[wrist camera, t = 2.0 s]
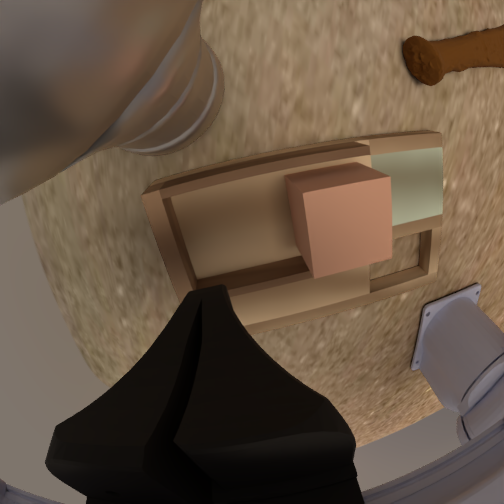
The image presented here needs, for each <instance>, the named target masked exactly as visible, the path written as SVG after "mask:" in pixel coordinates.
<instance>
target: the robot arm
mask: <svg viewBox="0 0 504 504" xmlns="http://www.w3.org/2000/svg"><path fill="white" fill-rule="evenodd" d="M480 290H481V285H480V284H479V283H478V284H475V285H473V286H471V287H468V288H466V289H464V290H461V291H459V292H457V293H454V294H452V295H449V296H447V297H445V298H442V299H440V300H437V301H435V302H432V303H429V304H427V305H426V306H425V307H424V308H423V313H422V318H421V324H420V329H419V334H418V338H417V343H416V348H415V352H414V356H413V360H412V364H411V369H412V370H417V369H420V370H421V372H422V373H423V375H424V376H425V378H426V380H427V381H428V383H429V384H430V386H431V388H432V389H433V391H434V392H435V394H436V396H437V397H438V399H439V401H440V402H441V403H442V405H443V406H444V407H446V408H447V409H449V410H451V411H454V412H460V415H459V417H458V418H457V435H458V438H459V441H460V443H461V445H462V446H460V447H458V448H457V449H455V450H453V451H452V452H450V453H448V454H446V455H445V456H443V457H441V458H439V459H437V460H435V461H434V462H431V463H429V464H427V465H425V466H423V467H421V468H419V469H417V470H415V471H413V472H411V473H409V474H406V475H404V476H402V477H400V478H397V479H395V480H392V481H390V482H387V483H385V484H382V485H380V486H377V487H375V488H372V489H369V490H366V491H363V492H361V490H360V487H359V484H358V481H357V478H356V477H357V472H356V468H355V466H354V463H353V458H354V452H355V448H356V441H355V437H354V435H353V433H352V431H351V429H350V428H349V426H348V424H347V423H346V421H345V420H344V419H343V417H342V416H341V415H340V413H339V412H338V411H337V410H336V408H335V407H334V406H333V405H332V403H331V402H330V401H329V400H328V399H327V398H326V397H324V396H323V395H321V394H319V393H318V392H316V391H314V390H313V389H311V388H309V387H308V386H306V385H305V384H303V383H302V382H300V381H299V380H298V379H296V378H295V377H294V376H292V375H291V374H289V373H288V372H287V371H286V370H285V369H284V368H282V367H281V366H280V365H279V364H278V363H277V362H275V361H274V360H273V359H272V358H271V357H270V356H269V355H268V354H267V353H266V352H265V351H264V350H263V349H262V348H261V347H260V346H259V345H258V344H257V343H256V341H255V340H254V339H253V338H252V337H251V335H250V334H249V333H248V331H247V330H246V329H245V327H244V326H243V325H242V323H241V322H240V320H239V318H238V317H237V315H236V313H235V312H234V310H233V306H232V303H231V300H230V297H229V293H228V290H227V287H226V286H225V285H223V284H220V285H215V286H211V287H207V288H202V289H198V290H193V291H189V292H188V293H187V295H186V296H185V298H184V299H183V301H182V302H181V304H180V305H179V307H178V309H177V310H176V312H175V313H174V315H173V316H172V318H171V319H170V321H169V322H168V324H167V325H166V327H165V328H164V330H163V331H162V332H161V334H160V335H159V336H158V338H157V339H156V340H155V342H154V343H153V344H152V346H151V347H150V348H149V349H148V351H147V352H146V353H145V354H144V355H143V357H142V358H141V359H140V360H139V361H138V362H137V363H136V364H135V365H134V366H133V367H132V369H131V370H130V371H129V372H127V373H126V374H125V375H124V376H123V377H122V378H121V379H120V380H119V381H118V382H117V383H116V384H115V385H114V386H112V387H111V388H110V389H109V390H108V391H107V392H106V393H104V394H103V395H102V396H100V397H99V398H98V399H97V400H95V401H94V402H93V403H91V404H90V405H88V406H87V407H86V408H84V409H83V410H81V411H80V412H78V413H76V414H75V415H74V416H72V417H70V418H68V419H67V420H65V421H64V422H62V423H60V424H58V425H57V426H56V427H55V430H54V433H53V436H52V440H51V443H50V446H49V450H48V453H47V457H46V460H45V464H46V467H47V468H48V470H49V471H50V472H51V473H52V474H53V475H54V476H55V477H57V478H58V479H59V480H61V481H62V482H64V483H65V484H67V485H68V486H70V487H72V488H73V489H75V490H77V491H79V492H80V493H82V494H83V495H85V496H87V500H86V504H504V333H503V332H502V331H501V330H500V329H499V327H498V326H497V325H496V324H495V323H494V322H493V321H492V320H491V319H490V318H489V317H488V316H487V315H486V314H485V313H484V312H483V311H482V310H481V309H480V308H479V307H478V306H477V302H478V298H479V294H480ZM0 504H63V503H60V502H56V501H52V500H49V499H46V498H43V497H40V496H37V495H34V494H31V493H28V492H26V491H23V490H20V489H18V488H15V487H13V486H10V485H8V484H6V483H5V482H4V481H3V480H1V479H0Z"/></svg>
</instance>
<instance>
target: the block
mask: <svg viewBox="0 0 504 504" xmlns="http://www.w3.org/2000/svg"><path fill="white" fill-rule="evenodd" d="M284 177H285V182H286V188H287V194H288V199H289V205H290V211H291V217H292V223H293V229H294V235H295V241H296V246H297V248H298V250H299V252H300V254H301V255H302V257H303V259H304V261H305V263H306V265H307V266H308V268H309V270H310V272H311V274H312V276H313V278H314V279H316V278H320V277H324V276H328V275H332V274H335V273H339V272H343V271H347V270H351V269H354V268H358V267H362V266H365V265H369V264H373V263H376V262H380V261H383V260H387V259H391V258H392V195H391V176H388V175H386V174H384V173H382V172H379V171H377V170H375V169H372V168H370V167H368V166H365V165H363V164H361V163H358V162H352V163H346V164H340V165H334V166H329V167H323V168H318V169H312V170H307V171H302V172H297V173H292V174H287V175H284Z"/></svg>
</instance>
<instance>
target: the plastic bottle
mask: <svg viewBox="0 0 504 504" xmlns="http://www.w3.org/2000/svg"><path fill="white" fill-rule="evenodd" d="M202 2H203V0H0V206H1V205H3V204H5V203H6V202H8V201H10V200H12V199H14V198H16V197H18V196H20V195H22V194H24V193H26V192H28V191H29V190H31V189H33V188H35V187H36V186H38V185H40V184H42V183H44V182H45V181H47V180H49V179H51V178H53V177H55V176H56V175H57V174H58V173H60V172H62V171H64V170H66V169H67V168H69V167H71V166H73V165H74V164H76V163H78V162H80V161H81V160H83V159H85V158H87V157H89V156H91V155H93V154H95V153H96V152H98V151H101V150H105V149H109V148H113V147H119V148H121V149H123V150H126V151H129V152H133V153H137V154H140V155H147V156H158V155H166V154H170V153H173V152H175V151H179V150H181V149H183V148H184V147H186V146H188V145H190V144H191V143H193V142H194V141H195V140H196V139H198V138H199V137H200V136H201V135H202V134H203V133H204V132H205V131H206V130H207V129H208V128H209V126H210V125H211V124H212V122H213V120H214V119H215V117H216V115H217V114H218V111H219V109H220V106H221V104H222V100H223V94H224V74H223V70H222V66H221V64H220V62H219V60H218V58H217V56H216V54H215V53H214V51H213V50H212V48H211V47H210V46H209V45H208V44H207V43H206V41H205V40H204V39H202V37H201V34H200V21H199V20H200V14H201V8H202Z"/></svg>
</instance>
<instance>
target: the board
mask: <svg viewBox="0 0 504 504" xmlns="http://www.w3.org/2000/svg"><path fill="white" fill-rule="evenodd" d="M352 162H358V163H361V164H363V165H365V166H368V167H370V168H372V169H375V170H377V171H379V172H382V173H384V174H386V175H388V176H391V195H392V239H396V238H400V237H404V236H408V235H411V234H415V233H419V232H421V241H420V256H419V266H416V267H413V268H410V269H407V270H403V271H400V272H397V273H393V274H390V275H387V276H383V277H380V278H377V279H373V280H370V264H369V265H365V266H362V267H358V268H354V269H351V270H347V271H343V272H339V273H335V274H332V275H328V276H324V277H320V278H316V279H314V278H313V276H312V274H311V272H310V270H309V268H308V266H307V265H306V263H305V261H304V259H303V257H302V255H301V254H300V252H299V250H298V248H297V246H296V241H295V235H294V229H293V223H292V217H291V211H290V205H289V199H288V194H287V188H286V182H285V177H284V175H287V174H292V173H297V172H302V171H307V170H312V169H318V168H323V167H329V166H334V165H340V164H346V163H352ZM141 198H142V201H143V204H144V207H145V210H146V213H147V216H148V219H149V222H150V225H151V228H152V231H153V233H154V236H155V239H156V242H157V245H158V247H159V250H160V253H161V255H162V258H163V261H164V263H165V266H166V269H167V271H168V274H169V276H170V279H171V282H172V284H173V287H174V289H175V292H176V294H177V296H178V299H179V301H180V304H181V302H182V301H183V299H184V298H185V296H186V295H187V293H188V292H189V291H193V290H198V289H202V288H207V287H211V286H215V285H220V284H223V285H225V286H226V287H227V290H228V293H229V297H230V300H231V303H232V306H233V310H234V312H235V313H236V315H237V317H238V318H239V320H240V322H241V323H242V325H243V326H244V327H245V329H246V330H247V331H248V333H249V334H250V335H253V334H257V333H261V332H266V331H270V330H274V329H279V328H283V327H287V326H291V325H295V324H299V323H303V322H307V321H311V320H314V319H318V318H322V317H326V316H329V315H333V314H336V313H340V312H343V311H347V310H350V309H354V308H357V307H360V306H364V305H367V304H370V303H374V302H377V301H380V300H383V299H386V298H389V297H392V296H395V295H398V294H401V293H404V292H407V291H410V290H413V289H416V288H419V287H422V286H425V285H428V284H430V283H433V282H436V278H437V270H438V262H439V253H440V243H441V231H442V211H443V153H442V133H440V132H435V131H430V130H426V131H412V132H400V133H390V134H380V135H371V136H363V137H355V138H348V139H341V140H334V141H327V142H321V143H315V144H309V145H303V146H297V147H292V148H286V149H281V150H276V151H271V152H266V153H261V154H256V155H252V156H247V157H243V158H238V159H234V160H230V161H225V162H221V163H217V164H213V165H209V166H205V167H201V168H197V169H194V170H190V171H186V172H182V173H179V174H175V175H172V176H168V177H165V178H161V179H158V180H155V181H154V182H153V183H152V184H151V185H150V186H149V187H148V188H147V189H146V190H145V191H144V192H143V194H142V195H141Z"/></svg>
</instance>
